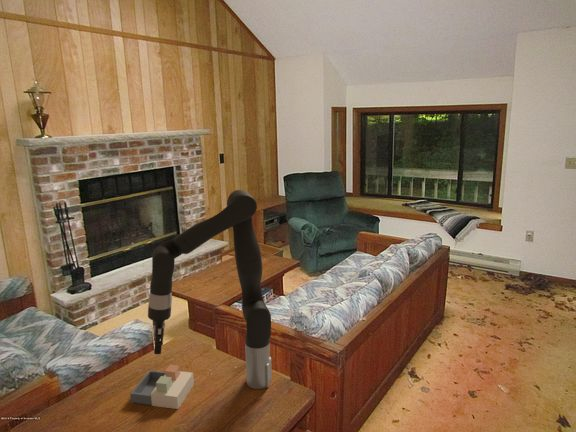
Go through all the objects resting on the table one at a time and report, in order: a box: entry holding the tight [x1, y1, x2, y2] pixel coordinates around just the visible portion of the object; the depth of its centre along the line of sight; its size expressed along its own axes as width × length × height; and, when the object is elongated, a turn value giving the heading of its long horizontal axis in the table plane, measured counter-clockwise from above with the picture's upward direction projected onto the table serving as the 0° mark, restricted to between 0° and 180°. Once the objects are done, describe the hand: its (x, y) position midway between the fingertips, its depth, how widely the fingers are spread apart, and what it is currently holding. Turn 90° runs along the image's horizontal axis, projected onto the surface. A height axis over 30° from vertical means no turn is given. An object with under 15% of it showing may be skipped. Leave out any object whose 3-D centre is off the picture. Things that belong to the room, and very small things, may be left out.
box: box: [130, 369, 165, 406], centre depth 157 cm, size 8×14×4 cm, turn 169°
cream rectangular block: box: [151, 370, 195, 410], centre depth 155 cm, size 10×14×5 cm
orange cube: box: [164, 364, 181, 380], centre depth 158 cm, size 4×4×4 cm
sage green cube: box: [156, 376, 172, 393], centre depth 151 cm, size 4×4×4 cm
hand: (157, 347), depth 147 cm, fingers open, 8 cm apart
